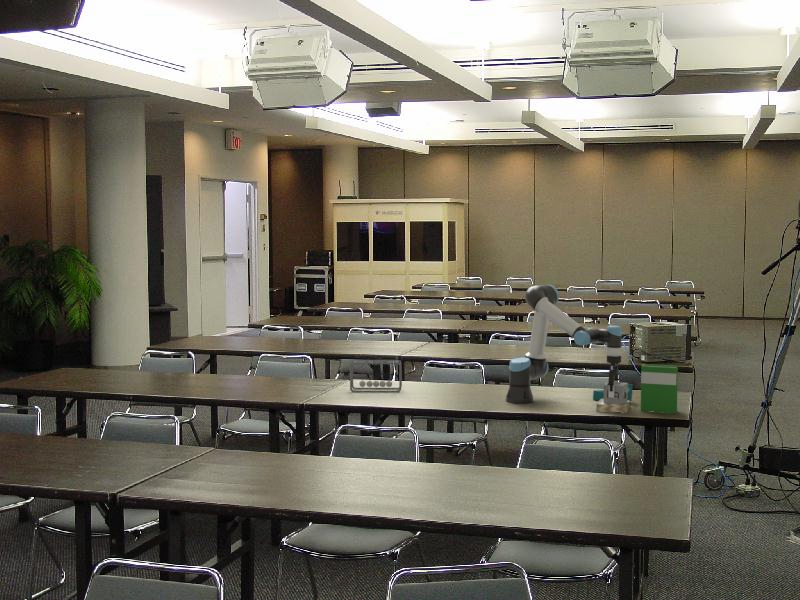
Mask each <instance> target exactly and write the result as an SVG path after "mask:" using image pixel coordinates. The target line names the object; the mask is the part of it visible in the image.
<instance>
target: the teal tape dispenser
mask: <svg viewBox="0 0 800 600" xmlns="http://www.w3.org/2000/svg"><path fill="white" fill-rule="evenodd" d="M633 385H634V384H632V383H631V384H630V383H628V392H627V400H629V401H630V402H632V399H633V388H634V387H633ZM592 391H593V394H592V400H594V401H597V402H599V401H600V399H604V389H596V390H592Z"/></svg>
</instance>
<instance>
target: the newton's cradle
mask: <svg viewBox="0 0 800 600" xmlns="http://www.w3.org/2000/svg"><path fill="white" fill-rule="evenodd" d="M402 363H403V362H402V361H401V360H399V359H353V360H352V361H351V363H350V365H349V389H350V390H349V391H351V392H352V393H400V392H401V391H402V388H403V382H402V381H403V369H402V368H403V367H402V366H403V365H402ZM354 365H362V367H361V369H362V375H361V376H362V377H361V378H362V379H361V381H359V387H354ZM364 365H398V366H399V367H398V369H399V371H398V373H399V374H398V375H399V377H398V379H399V380H398V381H399V386H398V387H392V386H393V381H391V380H387V381H385V380H384V371H383V370H382V371H381V375H382V380H381V381H378V380H374V381H372V380H371V378H370V377H371V371H368V379H369V380H368V381H367V382H366V381H365V380H363V379H364V377H363V376H364ZM365 386H367V387H365ZM379 386H380V387H379ZM390 389H392V390H390Z"/></svg>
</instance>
